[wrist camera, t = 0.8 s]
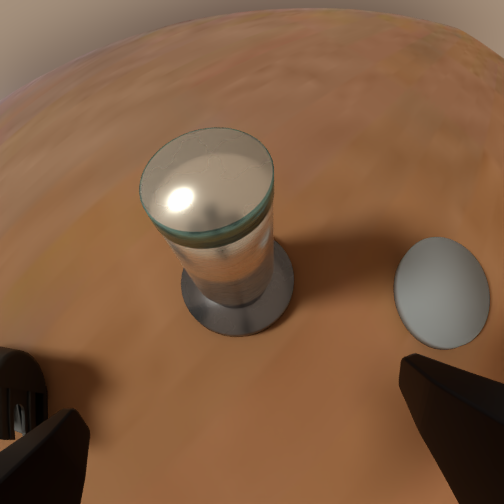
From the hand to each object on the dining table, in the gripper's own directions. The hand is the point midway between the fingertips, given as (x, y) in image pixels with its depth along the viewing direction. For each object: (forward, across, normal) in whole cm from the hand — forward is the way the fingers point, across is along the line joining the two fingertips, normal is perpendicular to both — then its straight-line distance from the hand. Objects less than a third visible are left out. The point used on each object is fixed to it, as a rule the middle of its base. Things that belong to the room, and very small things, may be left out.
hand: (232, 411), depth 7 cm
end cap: (+11, +22, +8) cm, 26 cm away
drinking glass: (+13, 0, 0) cm, 13 cm away
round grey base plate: (+15, 0, +2) cm, 15 cm away
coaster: (+12, -16, +6) cm, 21 cm away
